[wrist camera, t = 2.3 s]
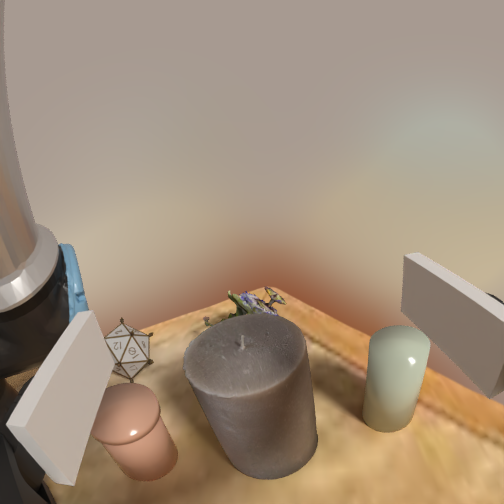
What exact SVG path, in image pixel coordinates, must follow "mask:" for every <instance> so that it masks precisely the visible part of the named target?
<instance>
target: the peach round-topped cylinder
mask: <svg viewBox="0 0 504 504" xmlns="http://www.w3.org/2000/svg"><path fill="white" fill-rule="evenodd" d="M160 413H161V409H160V405H159V402H158V400H157V398H156V396H155V394H154V392H153V391H152V390H151V389H149V388H148V387H146V386H144V385H141V384H136V383H123V384H117V385H114V386H111V387H108V388H106V389H105V392H104V394H103V397H102V400H101V403H100V406H99V409H98V411H97V414H96V417H95V420H94V423H93V426H92V429H91V432H90V433H91V435H92V436H93V437H94V438H95V439H96V440H97V441H99V442H101V443H102V444H103V446H104V447H105V449H106V450H107V451H108V453H109V454H110V455H111V457H112V458H113V459H114V461H115V462H116V463H117V465H118V466H119V467H120V469H121V470H122V471H123V472H124V473H125V474H126V475H127V476H128V477H130V478H132V479H134V480H138V481H153V480H156V479H159V478H161V477H163V476H165V475H166V474H168V473H169V472H170V471H171V470H172V469H173V467H174V466H175V464H176V462H177V458H178V451H177V448H176V446H175V444H174V442H173V440H172V438H171V436H170V434H169V432H168V430H167V428H166V426H165V424H164V422H163V420H162V418H161V416H160Z"/></svg>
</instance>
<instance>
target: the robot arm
mask: <svg viewBox="0 0 504 504" xmlns="http://www.w3.org/2000/svg"><path fill="white" fill-rule="evenodd" d="M4 2H5V0H0V504H56V502H55V500H54V498H53V496H52V494H51V492H50V490H49V487H48V486H47V485H46V483H45V482H44V481H43V478H44V475H45V473H46V474H47V475H48V476H49V477H50V478H51V479H52V480H53V481H54V482H55V483H58V484H64V485H71V486H74V485H75V482H76V478H77V475H78V471H79V468H80V464H81V461H82V458H83V454H84V451H85V448H86V445H87V442H88V438H89V435H90V432H91V429H92V426H93V423H94V420H95V417H96V414H97V411H98V409H99V406H100V403H101V400H102V397H103V394H104V392H105V389H106V386H107V383H108V381H109V378H110V375H111V373H112V370H113V367H114V365H115V363H114V361H113V359H112V356H111V354H110V351H109V349H108V347H107V344H106V342H105V339H104V337H103V334H102V332H101V329H100V327H99V324H98V321H97V319H96V316H95V313H94V311H93V310H90V311H89V309H88V305H87V301H86V298H85V295H84V294H85V293H84V289H83V283H82V278H81V274H80V270H79V266H78V262H77V258H76V254H75V251H74V248H73V247H72V245H70V244H62V243H61V244H59V245H58V243H57V240H56V238H55V236H54V234H53V233H52V232H51V231H50V230H49V229H48V228H46V227H44V226H42V225H40V224H36V223H35V221H34V217H33V214H32V211H31V208H30V204H29V201H28V197H27V193H26V190H25V186H24V182H23V178H22V174H21V170H20V166H19V161H18V156H17V151H16V147H15V141H14V136H13V131H12V125H11V118H10V111H9V104H8V96H7V86H6V75H5V61H4ZM401 312H403V313H404V314H405V315H406V316H407V317H408V318H409V319H410V320H411V321H412V322H413V323H414V324H415V325H416V326H417V327H418V328H419V329H420V330H421V331H422V332H423V333H425V334H426V335H427V336H428V337H429V338H430V339H431V340H432V341H433V342H434V343H435V344H436V345H437V346H438V347H439V348H440V349H441V350H442V351H443V352H444V353H445V354H446V355H447V356H448V357H449V358H450V359H451V360H452V361H453V362H454V363H455V364H456V365H457V366H458V367H459V368H460V369H461V370H462V371H463V372H464V373H465V374H466V375H467V376H468V377H469V378H470V379H471V381H473V383H474V384H475V385H476V386H477V387H478V388H479V389H480V390H481V391H482V392H483V393H484V394H485V395H486V396H487V397H488V398H489V399H491V398H493V397H494V396H496V395H497V394H499V393H501V392H502V391H504V303H503V301H501V300H500V299H498V298H497V297H495V296H494V295H491V294H488V293H485V292H483V291H482V290H480V289H478V288H477V287H475V286H474V285H472V284H470V283H469V282H467V281H466V280H464V279H462V278H461V277H459V276H458V275H456V274H454V273H453V272H451V271H449V270H448V269H446V268H444V267H443V266H441V265H439V264H438V263H436V262H434V261H432V260H431V259H429V258H427V257H426V256H424V255H422V254H420V253H419V252H415V253H411V254H406V255H404V266H403V287H402V302H401ZM39 367H40V368H39ZM35 368H39V370H38V371H37V373H36V375H35V376H33V377H32V378H31V379H29V380H28V381H27V382H26V383H25V384H24V385H23V387H22V388H21V390H20V392H19V393H18V392H17V391H16V390H15V389H14V388H13V387H12V386H11V385H9V384H8V383H7V381H6V380H5V378H7V377H10V376H13V375H16V374H20V373H23V372H26V371H29V370H32V369H35Z"/></svg>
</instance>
